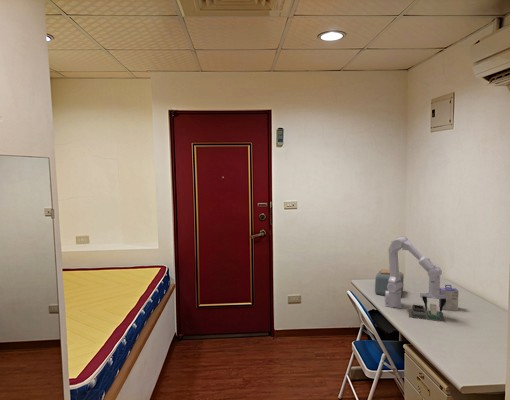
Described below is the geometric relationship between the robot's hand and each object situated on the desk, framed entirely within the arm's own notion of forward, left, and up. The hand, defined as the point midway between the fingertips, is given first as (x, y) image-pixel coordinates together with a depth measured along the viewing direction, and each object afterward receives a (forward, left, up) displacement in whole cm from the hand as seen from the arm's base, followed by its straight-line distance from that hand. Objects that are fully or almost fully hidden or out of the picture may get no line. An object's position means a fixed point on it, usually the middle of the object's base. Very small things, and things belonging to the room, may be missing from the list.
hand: (433, 310), depth 210 cm
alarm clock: (-24, +32, -4) cm, 40 cm away
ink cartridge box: (+10, +15, -4) cm, 18 cm away
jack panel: (-4, 0, -3) cm, 5 cm away
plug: (0, 0, -3) cm, 3 cm away
